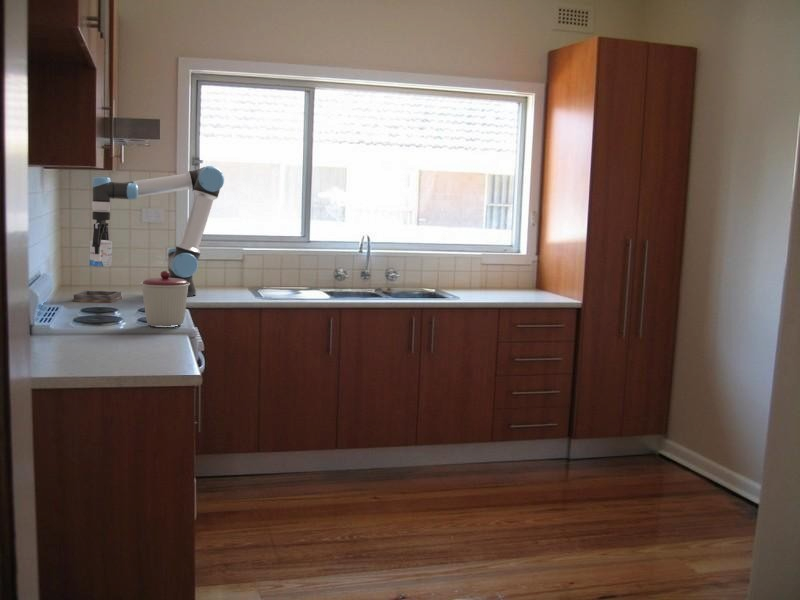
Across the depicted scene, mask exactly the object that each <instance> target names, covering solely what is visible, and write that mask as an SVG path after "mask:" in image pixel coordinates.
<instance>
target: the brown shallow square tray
mask: <svg viewBox="0 0 800 600" xmlns="http://www.w3.org/2000/svg"><path fill="white" fill-rule="evenodd" d="M121 299H123V295H122V291H115V290H114V291H113V290H111V291H109V290H108V291H107V290H84V291H81V292H77V293H74V294H73V298H72V302H76V301H80V302H83V303H84V302H86V303H109V304H110V303H114V302H115V301H118V300H121ZM80 302H79V303H80Z"/></svg>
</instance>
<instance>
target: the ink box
mask: <svg viewBox="0 0 800 600" xmlns="http://www.w3.org/2000/svg"><path fill="white" fill-rule="evenodd" d="M92 244H93V239H90V241H89V266H90V267H97V268H98V267H112V263H113V262H112V257H113V241H112V240H109V241H108V240H101V243H100V247H101V261H94V247H92Z"/></svg>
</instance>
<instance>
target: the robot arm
mask: <svg viewBox="0 0 800 600" xmlns="http://www.w3.org/2000/svg"><path fill="white" fill-rule="evenodd" d="M92 178H93V179H92V203H91V207H92V210H93V211H92V218H91V219H92V220H94V221H96V222H95V223H94V224H93V236H92V240H93V244H92V247H94V261H101V247H100V243H101V240H108V241H110V238H109V237H110V234H109V233H110V232H109V223H108V222H107V221H110V219H111V212H110V211H111V199H115V200H130V201H131V200H133V201H134V200H137V199H138V197H144V196H152V195H158V194H160V195H161V194H166V193H173V192H179V191H186V190H188V191H190V192H193V193H194V199H193V202H192V205H191V208H190V212H189V214H188V218H187V222H186V225H185V228H184V231H183V234H182V238H181V241H180V243H179V244H177V245H176V246H175V247H172V248H169V249H168V250H167V271H168V272H170V277H169V278H178V279H184V280H186V281H187V282H188V283H190V285H189V286H188V293H187V296H189V297H194V296H193V295H195V296H197V290H196V286H195V283H194V281H193V279H194V278H193V275H194V274H196V273H197V271H198V267H199V260H200V255H201V251H200V249H199V248H200V244H201V241H202V239H203V236H204V233H205V232H204V231H205V229H206V225H207V222H208V218H209V215H210V212H211V209H212V205H213V202H214V201H215V200H216V199H218V198H219V194H220V191H221V189H222V188H223V186H224V183H225V176H224V174H223V172H222V171H221V170H220V169H219V168H218V167H216V166H213V165H208V166H203V167H201V168H197V169H194V170H188V171H187V172H185V173H182V174H174V175H168V176H160V177H154V178H147V179H146V178H145V179H140V180H139V179H138V180H134V181H125V182H119V181H118V182H114V181H112V180H111V177H106V176H105V177H103V176H95V177H92Z"/></svg>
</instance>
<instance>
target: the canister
mask: <svg viewBox="0 0 800 600" xmlns="http://www.w3.org/2000/svg"><path fill="white" fill-rule="evenodd" d="M169 277H170V272H168V270H162V271H161V272H160V277H153V278H146V279H144V280H143V281H141V282H140V283H139V284H140V285H141V287H142V288H141V289H142V295H143V296H142V297H143V298H142V299H143V306H144V312H145V313H144V314H145V320H146V322H147V324H148V325H149V326H150V325H162V326H171V325H180V326H182V325H183V323H184V320H185V314H186V308H187V300H188V297H187V293H188V286H189V285H190V283H188V282H187V281H186V280H184V279H178V278H169ZM181 324H182V325H181Z"/></svg>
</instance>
